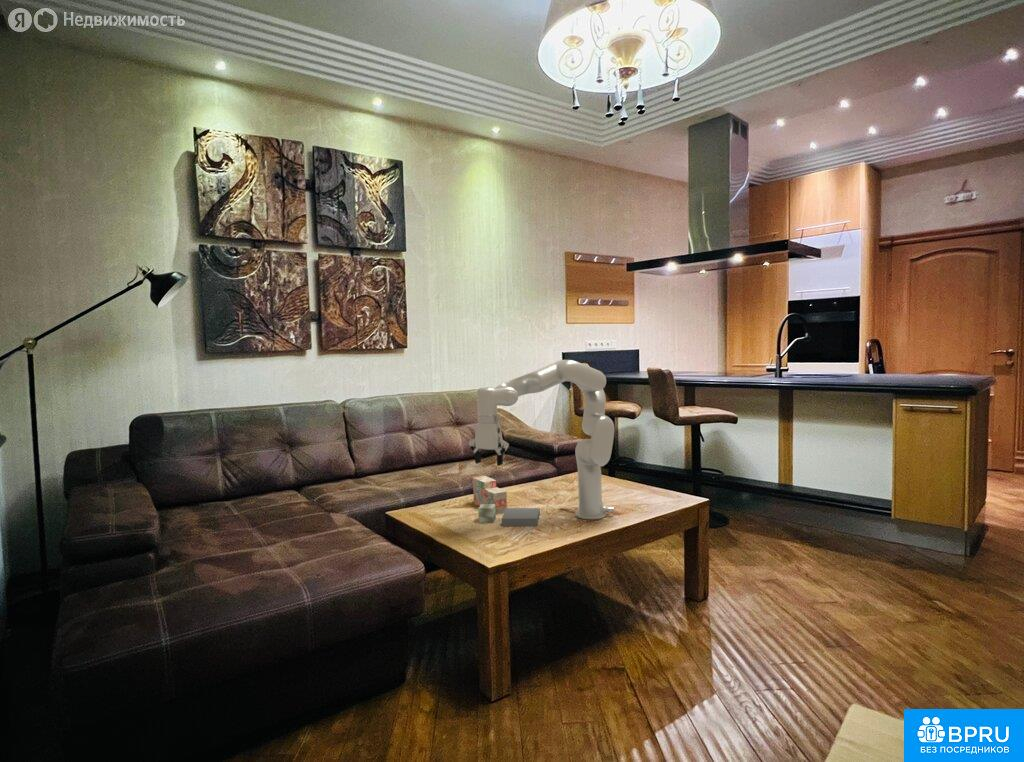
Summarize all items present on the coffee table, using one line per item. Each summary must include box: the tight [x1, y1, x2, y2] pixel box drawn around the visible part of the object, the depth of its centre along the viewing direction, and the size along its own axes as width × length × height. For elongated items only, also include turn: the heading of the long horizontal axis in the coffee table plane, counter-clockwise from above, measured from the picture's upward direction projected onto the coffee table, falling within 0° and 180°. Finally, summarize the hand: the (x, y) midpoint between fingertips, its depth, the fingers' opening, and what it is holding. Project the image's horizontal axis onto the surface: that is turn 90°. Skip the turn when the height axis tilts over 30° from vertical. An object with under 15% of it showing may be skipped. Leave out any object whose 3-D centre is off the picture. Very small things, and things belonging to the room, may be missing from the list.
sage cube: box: [477, 504, 497, 524], centre depth 224 cm, size 6×6×6 cm
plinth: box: [501, 507, 541, 527], centre depth 222 cm, size 14×14×3 cm
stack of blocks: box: [472, 475, 508, 515], centre depth 242 cm, size 21×6×12 cm, turn 28°
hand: (488, 463), depth 211 cm, fingers open, 9 cm apart
